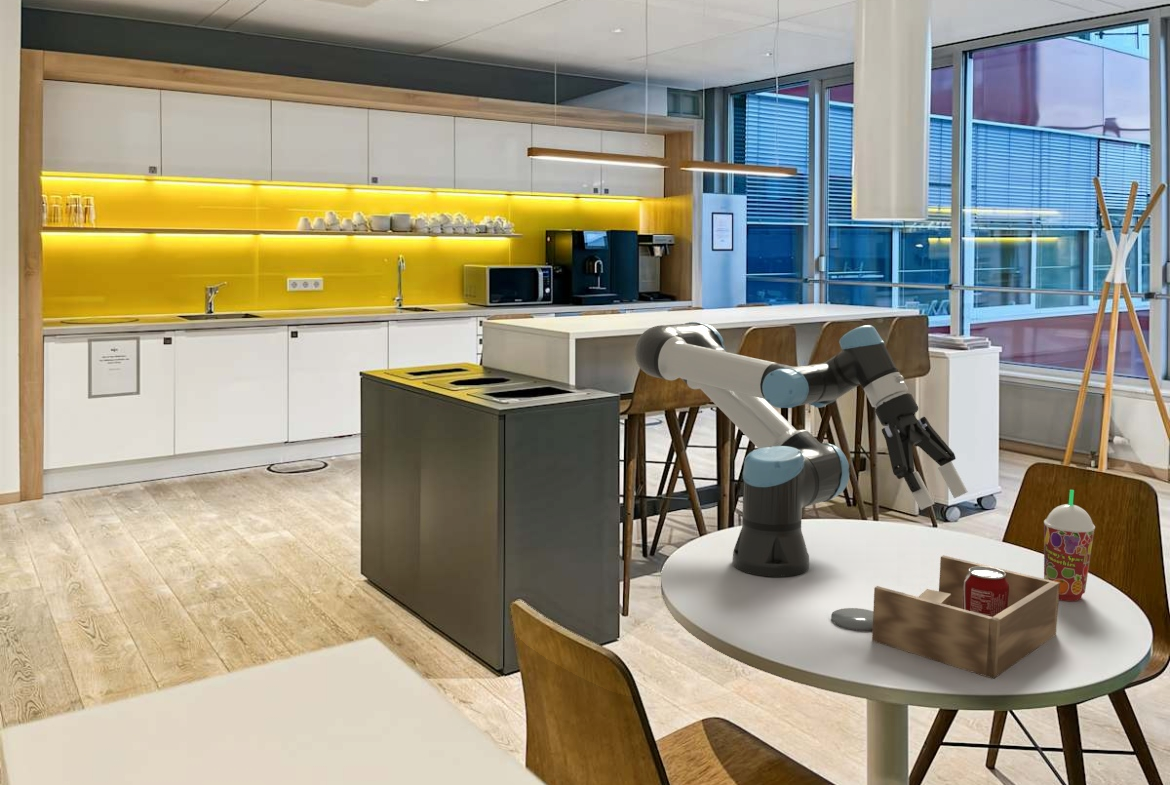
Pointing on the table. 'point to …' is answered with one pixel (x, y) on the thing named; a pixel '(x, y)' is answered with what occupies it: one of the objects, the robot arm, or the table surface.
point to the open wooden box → (968, 621)
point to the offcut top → (937, 596)
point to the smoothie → (1068, 549)
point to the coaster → (853, 619)
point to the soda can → (985, 591)
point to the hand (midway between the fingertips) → (944, 501)
